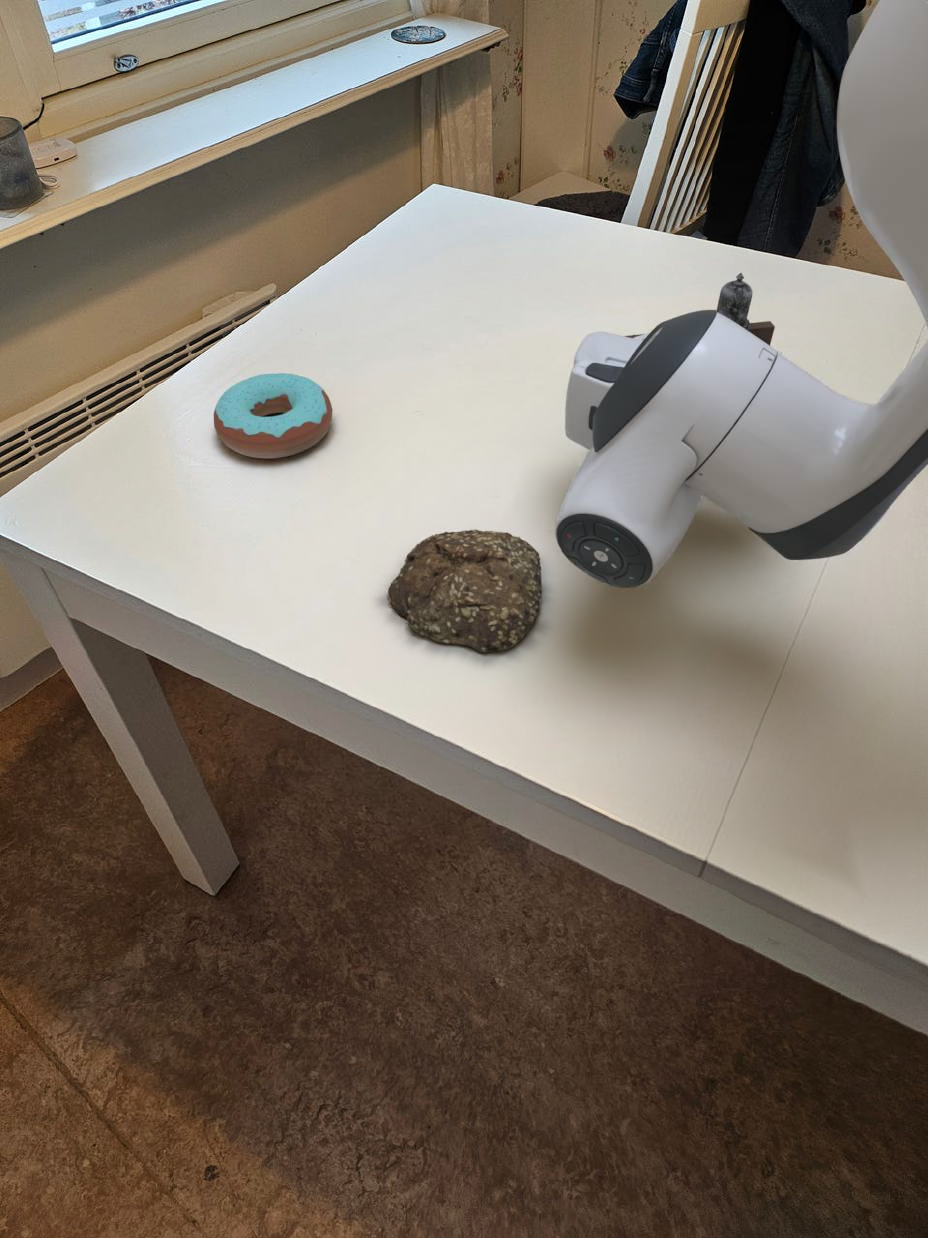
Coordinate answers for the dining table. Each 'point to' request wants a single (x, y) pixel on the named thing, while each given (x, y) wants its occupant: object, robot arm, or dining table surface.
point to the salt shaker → (736, 301)
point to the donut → (276, 434)
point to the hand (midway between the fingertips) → (717, 345)
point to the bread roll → (470, 589)
